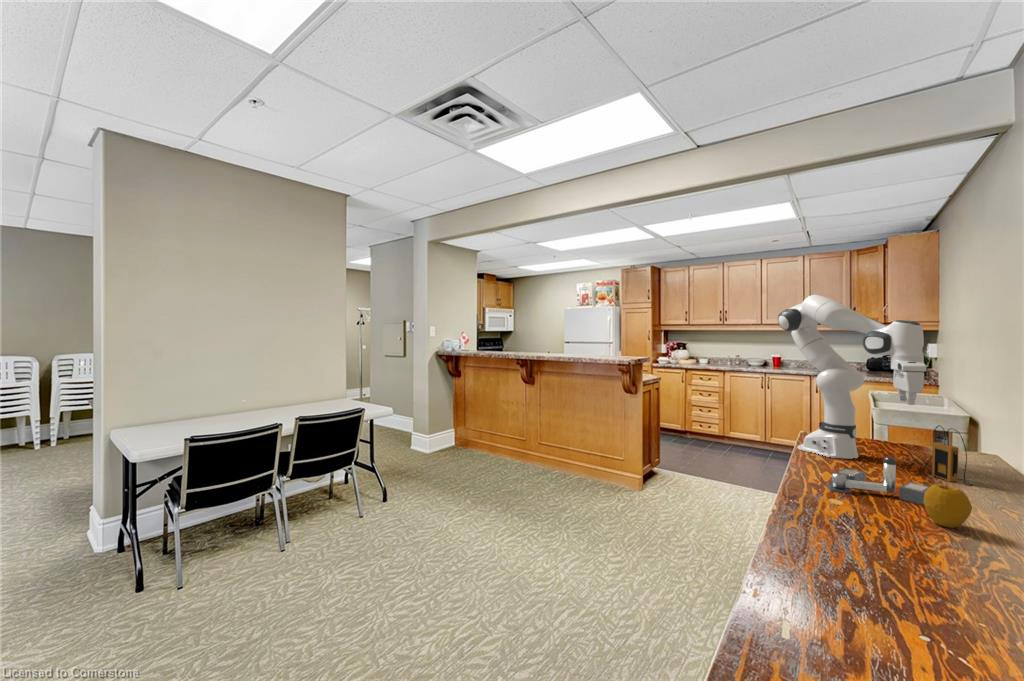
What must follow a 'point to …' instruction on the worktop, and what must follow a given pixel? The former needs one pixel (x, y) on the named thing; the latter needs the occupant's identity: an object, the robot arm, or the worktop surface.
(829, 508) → the worktop surface
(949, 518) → the apple
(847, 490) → the arm mount
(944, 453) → the multimeter
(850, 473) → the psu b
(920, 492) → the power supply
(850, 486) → the grey crank handle
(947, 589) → the worktop surface
